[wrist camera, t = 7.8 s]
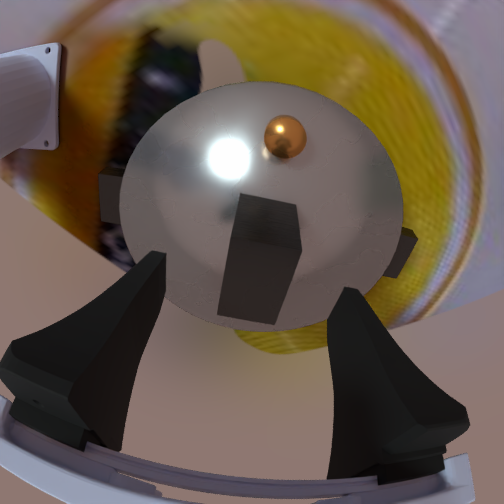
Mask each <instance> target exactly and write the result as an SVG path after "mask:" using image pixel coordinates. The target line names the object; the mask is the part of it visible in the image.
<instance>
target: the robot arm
mask: <svg viewBox="0 0 504 504" xmlns="http://www.w3.org/2000/svg"><path fill="white" fill-rule="evenodd" d="M49 48H50V49H51V50H50V53H49ZM60 59H61V44H60V43H50V44H44V45H38V46H33V47H28V48H24V49H19V50H15V51H11V52H7V53H3V54H0V159H1V158H3V157H5V156H6V155H8V154H10V153H11V152H13V151H15V150H16V149H18V148H23V149H42V150H54V149H56V148H57V147H58V145H59V136H58V91H59V72H60ZM47 141H48V143H49V145H48V144H47ZM166 254H167V253H163V252H158V251H154V250H151V251H150V252H149V253H148V254H147V255H145V256H144V257H143V258H142V259H141V260H140V261H139V262H138V263H137V264H136V265H135V266H134V267H133V268H131V269H130V270H129V271H128V272H127V273H126V274H125V275H124V276H123V277H122V278H120V279H119V280H118V281H117V282H116V283H114V284H113V285H112V286H111V287H109V288H108V289H107V290H106V291H104V292H103V293H102V294H101V295H99V296H98V297H96V298H95V299H94V300H92V301H91V302H89V303H88V304H87V305H85V306H84V307H82V308H81V309H79V310H77V311H76V312H74V313H72V314H71V315H69V316H67V317H65V318H64V319H62V320H60V321H58V322H56V323H54V324H52V325H50V326H48V327H46V328H44V329H42V330H39V331H37V332H35V333H32V334H29V335H27V336H24V337H21V338H19V339H16V340H13V341H12V342H11V344H10V345H9V347H8V349H7V350H6V352H5V354H4V356H3V358H2V360H1V362H0V379H1V380H2V382H3V383H4V384H5V385H6V387H7V388H8V389H9V390H10V391H11V392H12V393H13V395H14V396H15V399H14V402H13V403H12V402H11V401H10V400H8V399H7V398H5V397H4V396H2V395H0V465H1V466H2V467H4V468H5V469H7V470H8V471H10V472H11V473H13V474H14V475H16V476H18V477H19V478H21V479H22V480H24V481H26V482H28V483H29V484H31V485H33V486H35V487H36V488H38V489H40V490H42V491H43V492H45V493H47V494H49V495H51V496H53V497H55V498H57V499H59V500H61V501H63V502H65V503H67V504H202V503H195V502H188V501H182V500H176V499H171V498H165V497H162V493H161V492H160V491H158V490H156V487H155V486H154V485H152V484H149V483H146V482H143V481H140V480H137V479H134V478H131V477H129V476H126V475H130V476H133V477H136V478H140V479H143V480H147V481H151V482H155V483H159V484H164V485H168V486H173V487H178V488H183V489H188V490H194V491H200V492H206V493H213V494H221V495H229V496H240V497H252V498H271V499H272V498H274V499H310V498H331V497H340V498H334V499H326V500H318V501H317V502H315V503H312V504H469V503H471V502H473V501H474V500H475V493H474V486H473V480H472V474H471V468H470V463H469V458H468V454H467V453H463V454H460V455H456V456H452V457H449V458H446V459H444V460H443V455H442V454H444V453H446V444H448V443H449V442H451V441H453V440H454V439H456V438H457V437H459V436H460V435H462V434H463V433H464V432H465V431H467V430H468V428H469V426H470V422H469V418H468V414H467V411H466V408H465V407H464V406H463V405H462V404H460V403H459V402H457V401H456V400H455V399H453V398H452V397H450V396H449V395H448V394H446V393H445V392H444V391H443V390H442V389H440V388H439V387H438V386H437V385H436V384H434V383H433V382H432V381H431V380H430V379H429V378H428V377H427V376H426V375H425V374H424V373H423V372H422V371H420V369H419V368H418V367H417V366H416V365H415V364H414V363H413V362H412V361H411V360H410V359H409V357H408V356H407V355H406V354H405V353H404V352H403V351H402V349H401V348H400V347H399V346H398V345H397V343H396V342H395V341H394V339H393V338H392V337H391V335H390V334H389V332H388V331H387V330H386V328H385V327H384V326H383V324H382V323H381V321H380V320H379V318H378V317H377V316H376V314H375V313H374V311H373V310H372V308H371V307H370V305H369V304H368V302H367V301H366V300H365V298H364V297H363V295H362V294H361V293H360V291H359V290H358V289H356V288H350V287H344V288H343V290H342V292H341V294H340V296H339V298H338V300H337V302H336V304H335V306H334V308H333V309H332V311H331V313H330V315H329V317H328V319H327V343H328V351H329V358H330V365H331V373H332V380H333V390H334V422H333V438H332V448H331V456H330V463H329V469H328V475H327V480H273V479H256V478H245V477H234V476H226V475H219V474H211V473H205V472H199V471H193V470H188V469H183V468H178V467H173V466H168V465H164V464H160V463H155V462H152V461H148V460H144V459H140V458H137V457H133V456H130V455H126V454H123V453H120V452H119V451H121V448H122V441H123V434H124V427H125V422H126V417H127V412H128V407H129V402H130V398H131V393H132V389H133V385H134V381H135V377H136V373H137V369H138V365H139V363H140V360H141V357H142V354H143V352H144V349H145V347H146V344H147V342H148V339H149V337H150V334H151V332H152V330H153V327H154V325H155V322H156V320H157V318H158V315H159V313H160V310H161V306H162V303H163V299H164V296H165V292H166ZM118 472H119V473H118ZM120 473H122V474H120ZM123 474H126V475H123Z"/></svg>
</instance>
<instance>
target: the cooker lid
mask: <svg viewBox="0 0 504 504" xmlns="http://www.w3.org/2000/svg"><path fill="white" fill-rule="evenodd" d="M119 211H120V220H121V227H122V231H123V235H124V238H125V241H126V244H127V246H128V249H129V251H130V254H131V256H132V257H133V259H134V261H135V263H136V264H137V263H138V262H139V261H140V260H141V259H142V258H143V257H144V256H145V255H147V254H148V253H149V252H150V251H151V250H154V251H158V252H163V253H167V254H166V292H165V297H166V298H167V299H168V300H169V301H171V302H172V303H174V304H175V305H177V306H178V307H179V308H181V309H183V310H185V311H186V312H188V313H190V314H192V315H194V316H196V317H198V318H201V319H203V320H205V321H208V322H211V323H214V324H217V325H220V326H224V327H228V328H233V329H238V330H246V331H259V332H270V331H284V330H291V329H297V328H301V327H305V326H309V325H312V324H315V323H318V322H321V321H324V320H326V319H328V317H329V315H330V313H331V311H332V309H333V308H334V306H335V304H336V302H337V300H338V298H339V296H340V294H341V292H342V290H343V288H344V287H350V288H356V289H358V290H359V291H360V293H361V294H362V295H363V296H364V295H365V294H366V293H367V292H368V291H369V290H370V289H371V288H372V287H373V286H374V285H375V284H376V282H377V281H378V280H379V279H380V278H381V276H382V275H383V273H384V272H385V270H386V268H387V267H388V265H389V264H390V262H391V259H392V257H393V255H394V253H395V251H396V248H397V245H398V241H399V238H400V235H401V228H402V221H403V199H402V193H401V187H400V183H399V180H398V177H397V174H396V171H395V168H394V165H393V163H392V161H391V159H390V157H389V156H388V154H387V152H386V150H385V148H384V147H383V146H382V144H381V143H380V142H379V140H378V139H377V137H376V136H375V135H374V134H373V132H372V131H371V130H370V129H369V128H368V127H367V126H366V125H365V124H364V123H363V122H362V121H360V120H359V119H358V118H357V117H356V116H355V115H353V114H352V113H350V112H349V111H348V110H346V109H345V108H343V107H342V106H341V105H339V104H338V103H336V102H335V101H333V100H331V99H329V98H327V97H325V96H323V95H321V94H319V93H317V92H314V91H311V90H308V89H305V88H302V87H299V86H296V85H291V84H285V83H279V82H272V81H248V82H240V83H233V84H228V85H224V86H220V87H217V88H214V89H211V90H207V91H205V92H203V93H201V94H198V95H196V96H194V97H192V98H190V99H188V100H186V101H184V102H182V103H181V104H179V105H178V106H176V107H175V108H173V109H172V110H170V111H169V112H168V113H166V114H165V115H164V116H162V117H161V118H160V119H159V120H158V121H157V122H156V123H155V124H154V125H153V126H152V127H151V128H150V129H149V130H148V131H147V133H146V134H145V135H144V137H143V138H142V139H141V140H140V142H139V143H138V145H137V146H136V148H135V150H134V152H133V154H132V155H131V157H130V159H129V161H128V164H127V167H126V170H125V173H124V176H123V180H122V185H121V190H120V205H119Z"/></svg>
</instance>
